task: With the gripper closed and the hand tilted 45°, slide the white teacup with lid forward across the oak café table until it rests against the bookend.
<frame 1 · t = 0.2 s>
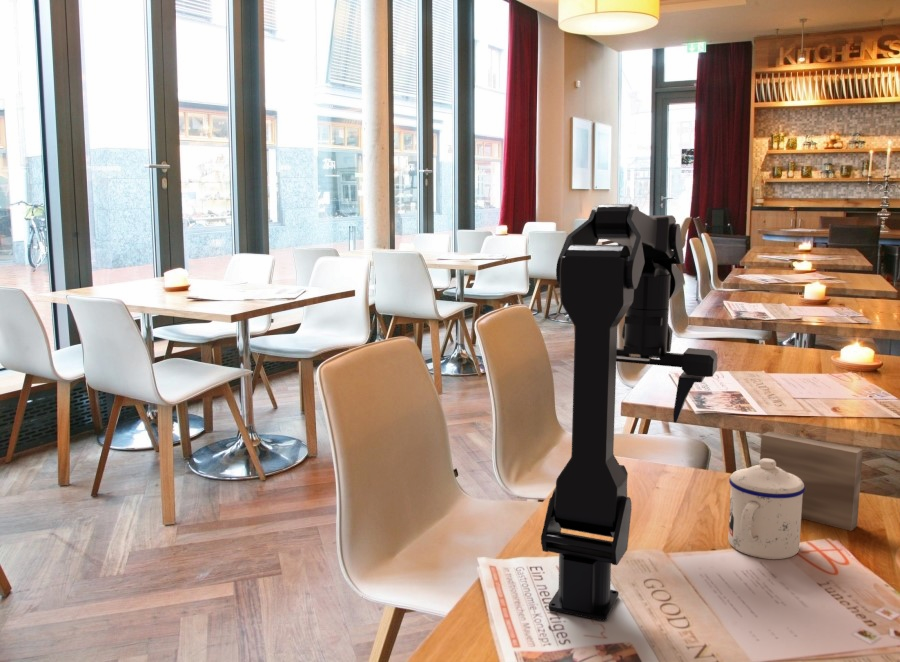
hand: (641, 417, 112), 15 cm above the table, tool pointing down, fingers open, 9 cm apart
teacup with lid: (759, 551, 103), on the table
bookend: (805, 516, 114), on the table
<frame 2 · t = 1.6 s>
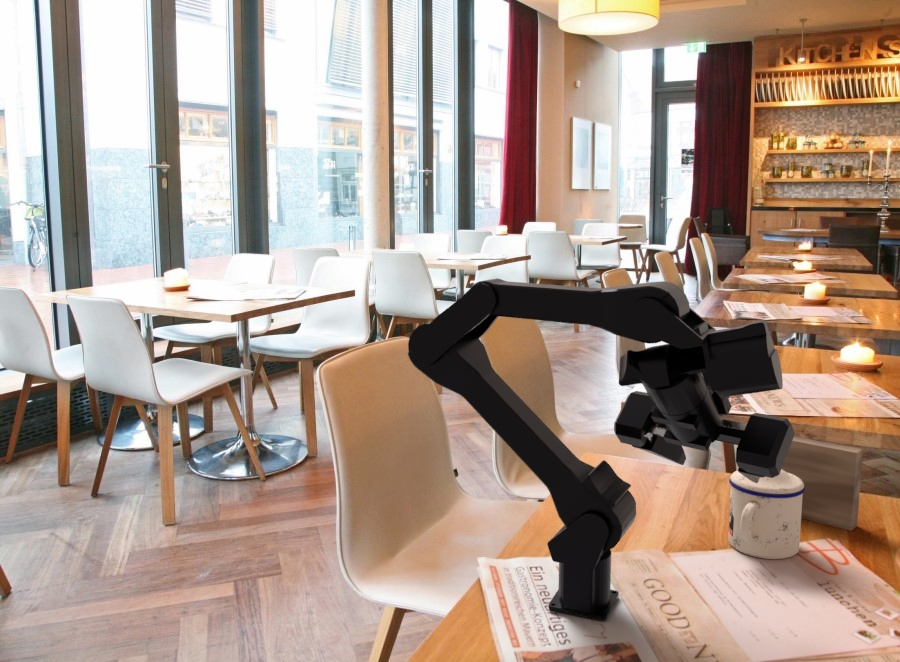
hand: (719, 470, 93), 14 cm above the table, tool tilted 45°, fingers open, 9 cm apart
nothing on the table moved.
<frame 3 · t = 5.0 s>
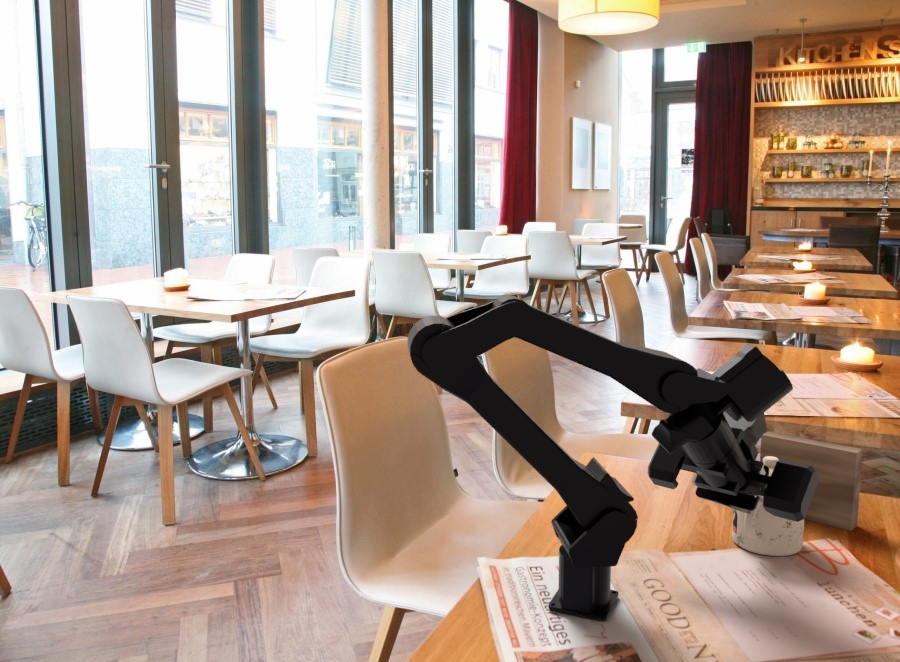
hand: (748, 509, 98), 7 cm above the table, tool tilted 45°, fingers closed, pressing on teacup with lid
teacup with lid: (762, 548, 104), on the table, touching gripper
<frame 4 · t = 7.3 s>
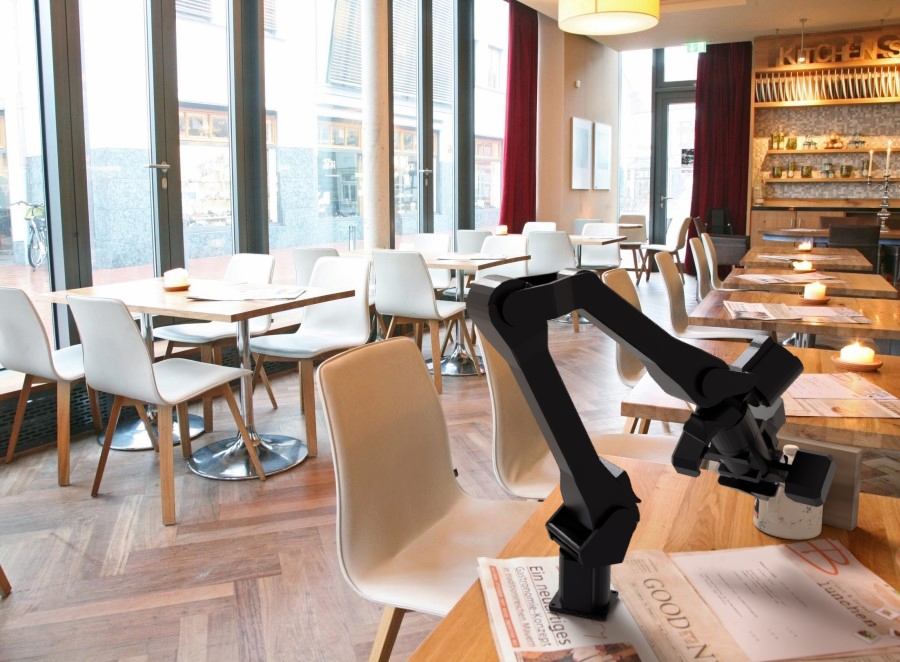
hand: (766, 497, 103), 7 cm above the table, tool tilted 45°, fingers closed
teacup with lid: (783, 532, 109), on the table
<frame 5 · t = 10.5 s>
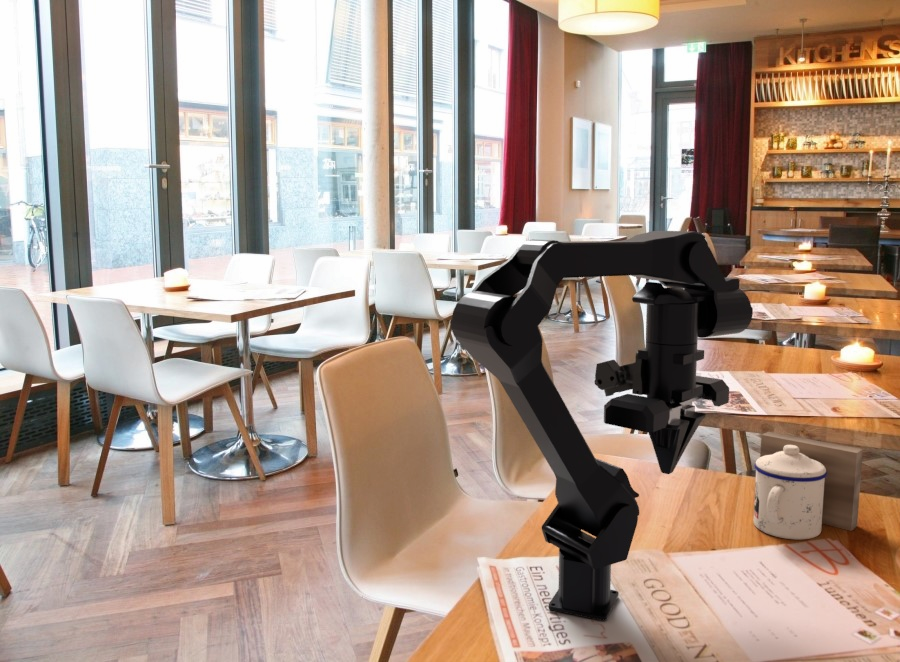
hand: (666, 472, 93), 13 cm above the table, tool pointing down, fingers closed
nothing on the table moved.
at the end: teacup with lid 7.6 cm from the bookend (horizontally); teacup with lid tilted 0°; teacup with lid moved 8.1 cm from its start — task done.
